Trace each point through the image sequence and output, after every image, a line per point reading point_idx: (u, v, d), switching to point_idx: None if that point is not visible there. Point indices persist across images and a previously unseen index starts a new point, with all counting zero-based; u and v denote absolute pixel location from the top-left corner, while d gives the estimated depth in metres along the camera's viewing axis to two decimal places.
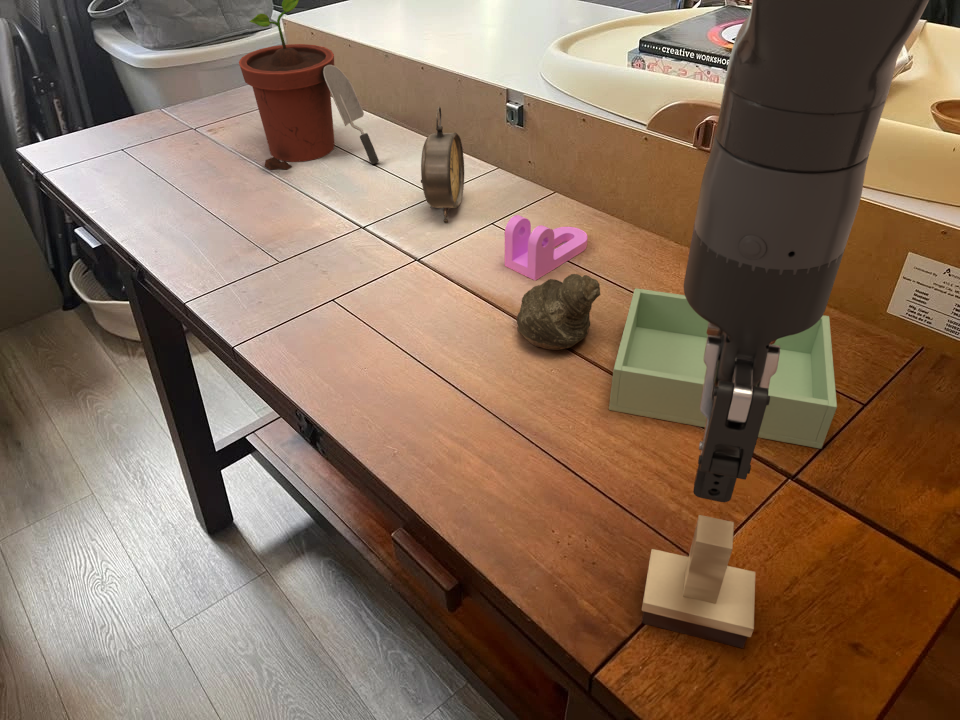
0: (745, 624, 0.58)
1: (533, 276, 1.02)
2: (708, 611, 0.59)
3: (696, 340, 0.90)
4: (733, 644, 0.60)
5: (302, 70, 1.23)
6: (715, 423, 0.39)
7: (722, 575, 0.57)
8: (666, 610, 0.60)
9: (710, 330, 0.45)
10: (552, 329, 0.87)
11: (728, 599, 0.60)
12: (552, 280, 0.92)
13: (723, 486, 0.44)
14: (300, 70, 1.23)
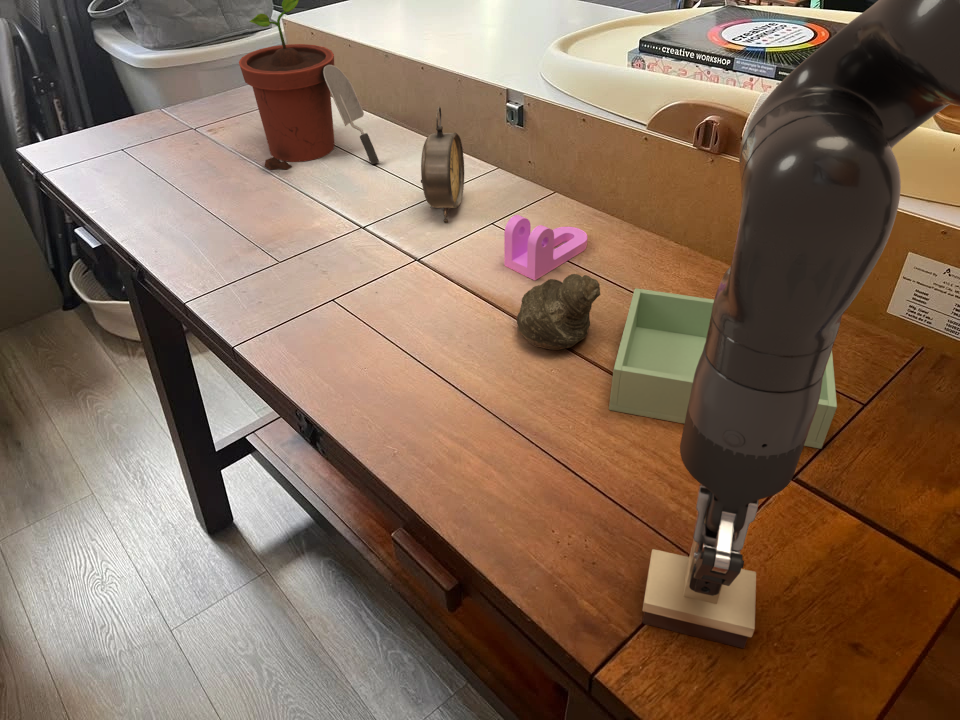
0: (746, 624, 0.58)
1: (533, 276, 1.02)
2: (708, 611, 0.59)
3: (696, 340, 0.90)
4: (734, 645, 0.60)
5: (302, 70, 1.23)
6: (702, 570, 0.51)
7: None
8: (667, 610, 0.60)
9: None
10: (552, 329, 0.87)
11: (729, 599, 0.60)
12: (552, 280, 0.92)
13: (712, 585, 0.56)
14: (300, 70, 1.23)
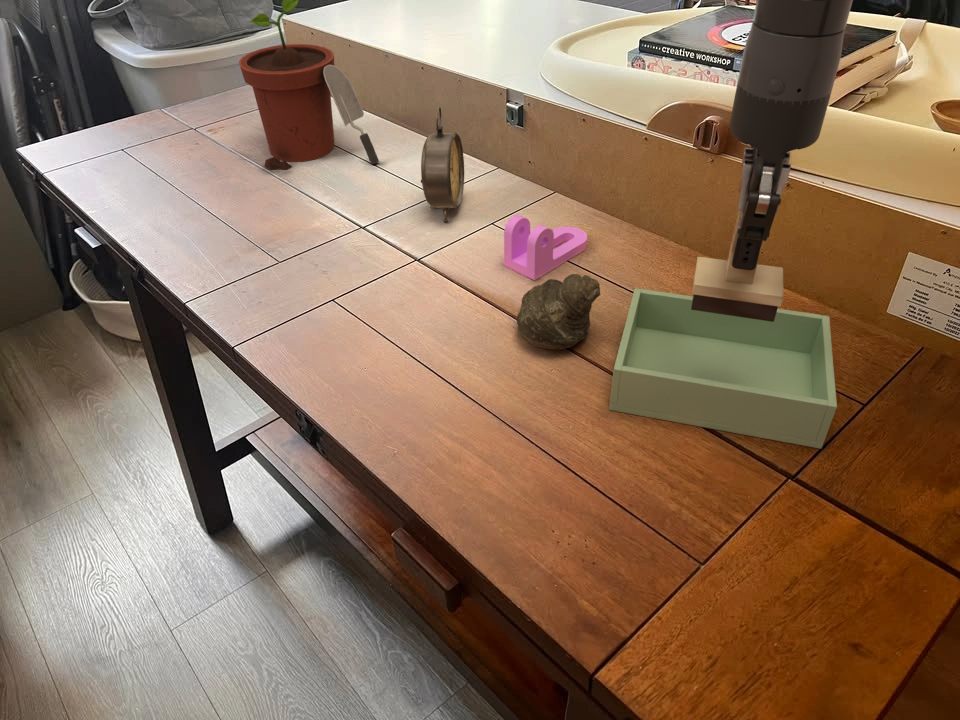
0: (776, 294, 0.73)
1: (533, 276, 1.02)
2: (746, 288, 0.74)
3: (696, 340, 0.90)
4: (765, 319, 0.75)
5: (302, 70, 1.23)
6: (747, 215, 0.66)
7: None
8: (712, 289, 0.74)
9: None
10: (552, 329, 0.87)
11: (762, 281, 0.75)
12: (552, 280, 0.92)
13: (751, 255, 0.71)
14: (300, 70, 1.23)
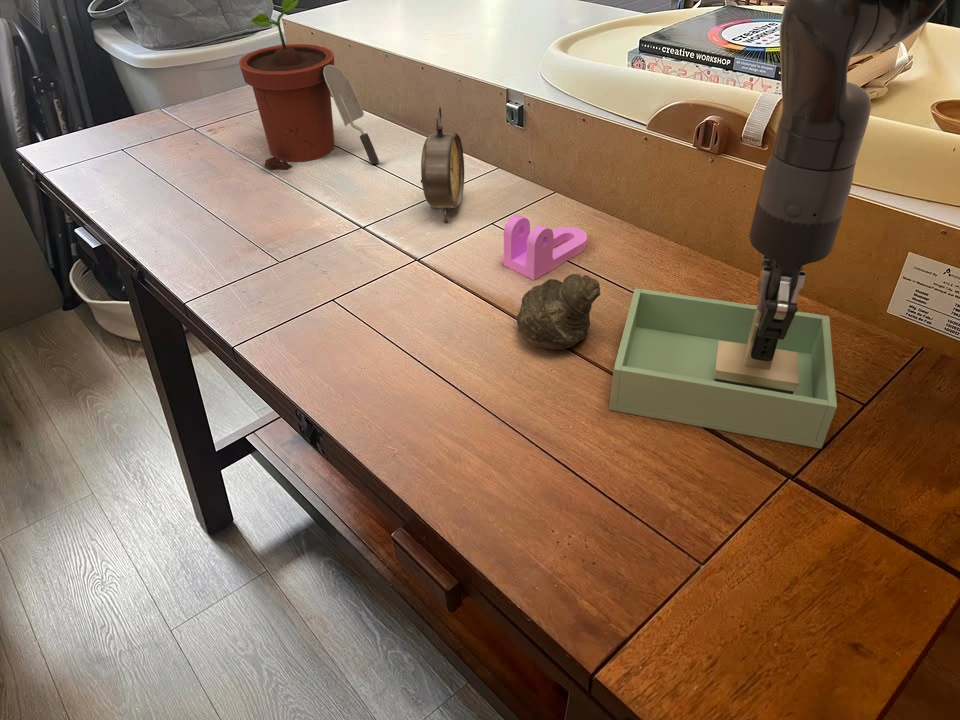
0: (792, 381, 0.79)
1: (532, 276, 1.02)
2: (764, 374, 0.80)
3: (696, 340, 0.90)
4: None
5: (302, 70, 1.23)
6: (766, 320, 0.72)
7: None
8: (733, 375, 0.80)
9: (763, 264, 0.75)
10: (552, 329, 0.87)
11: (778, 367, 0.81)
12: (552, 280, 0.92)
13: (769, 349, 0.77)
14: (300, 70, 1.23)
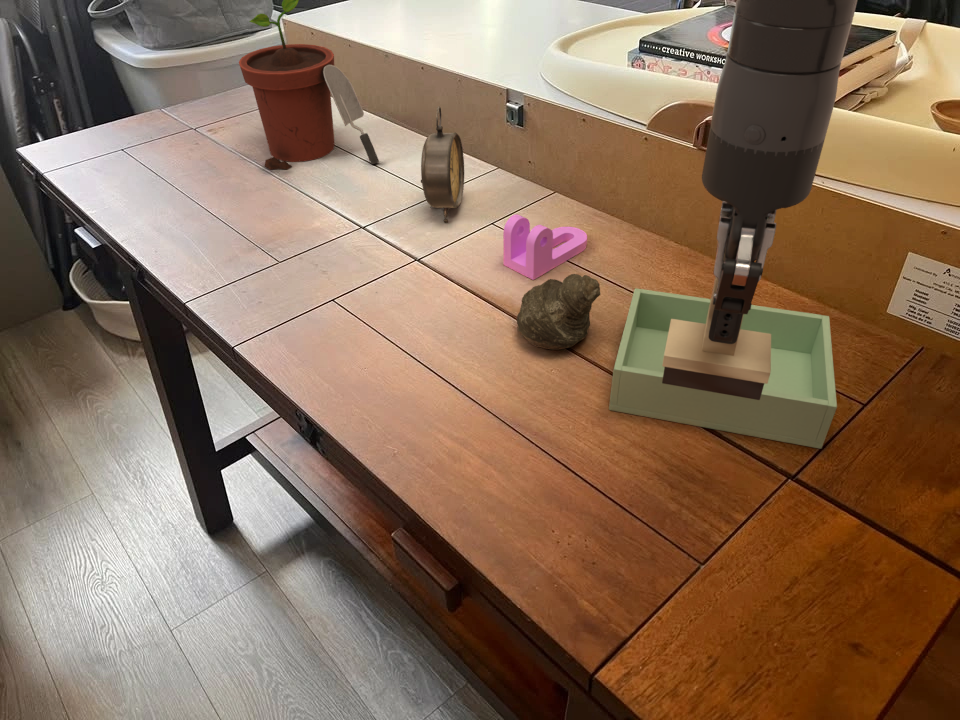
0: (762, 369, 0.61)
1: (532, 276, 1.02)
2: (726, 361, 0.62)
3: None
4: (750, 397, 0.63)
5: (302, 70, 1.23)
6: (723, 286, 0.54)
7: None
8: (686, 362, 0.62)
9: (722, 215, 0.57)
10: (552, 329, 0.87)
11: (745, 352, 0.63)
12: (552, 280, 0.92)
13: (731, 327, 0.59)
14: (300, 70, 1.23)
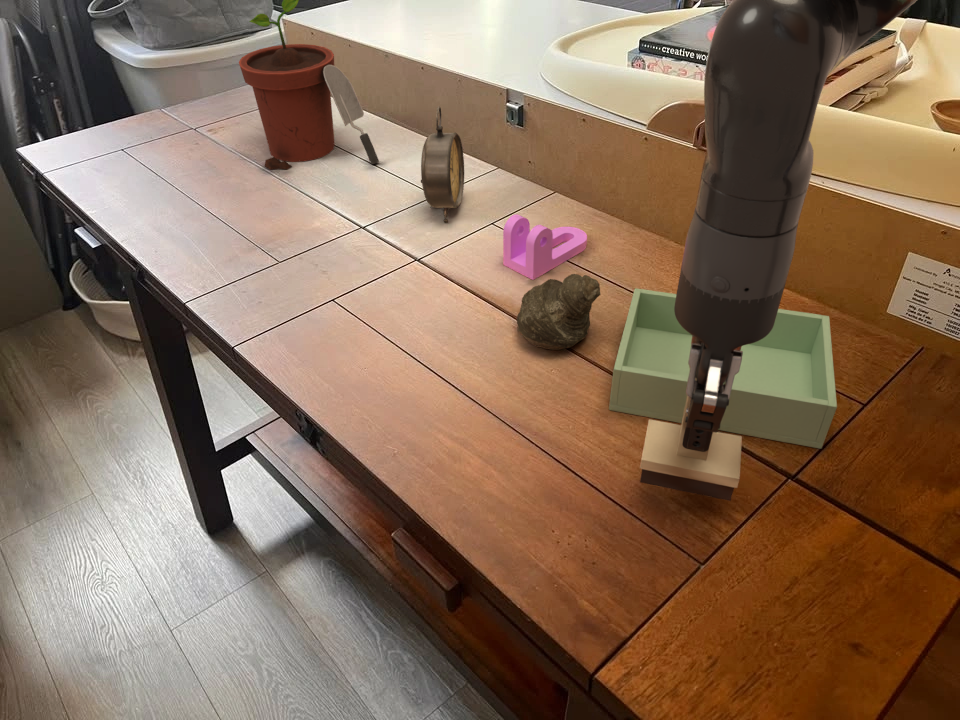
0: (732, 475, 0.65)
1: (531, 276, 1.02)
2: (699, 466, 0.66)
3: None
4: (721, 498, 0.67)
5: (302, 70, 1.23)
6: (693, 412, 0.58)
7: None
8: (662, 466, 0.67)
9: (694, 338, 0.62)
10: (553, 329, 0.87)
11: (717, 457, 0.67)
12: (552, 280, 0.92)
13: (702, 439, 0.64)
14: (300, 70, 1.23)
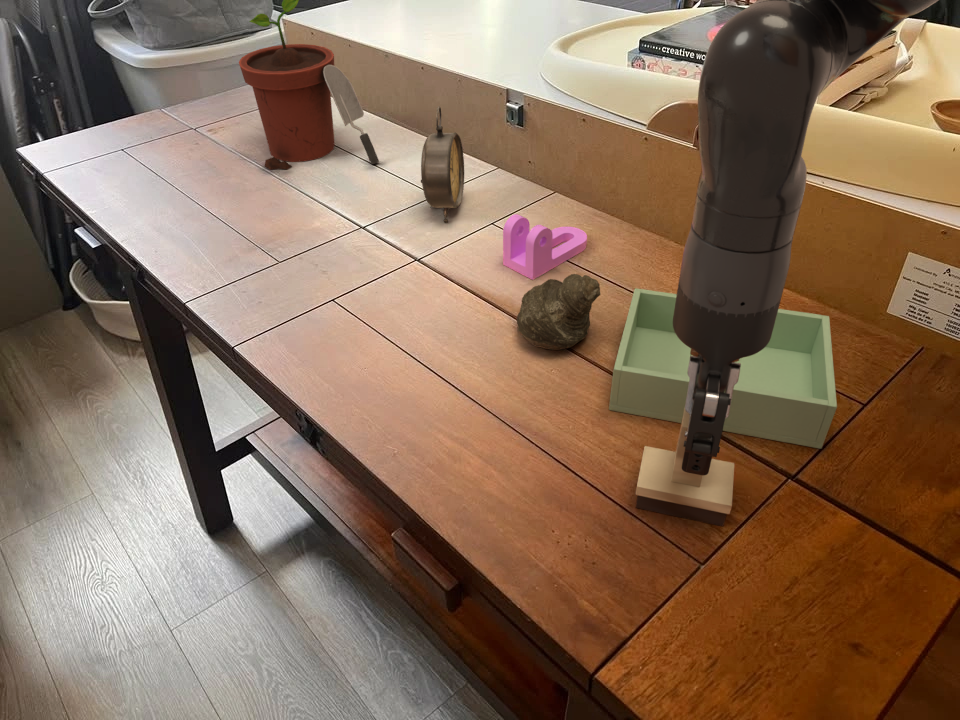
0: (724, 502, 0.68)
1: (531, 275, 1.02)
2: (692, 492, 0.69)
3: None
4: (714, 523, 0.70)
5: (302, 70, 1.23)
6: (694, 417, 0.57)
7: None
8: (656, 492, 0.69)
9: (692, 352, 0.63)
10: (552, 329, 0.87)
11: (710, 483, 0.69)
12: (552, 280, 0.92)
13: (702, 463, 0.62)
14: (300, 70, 1.23)
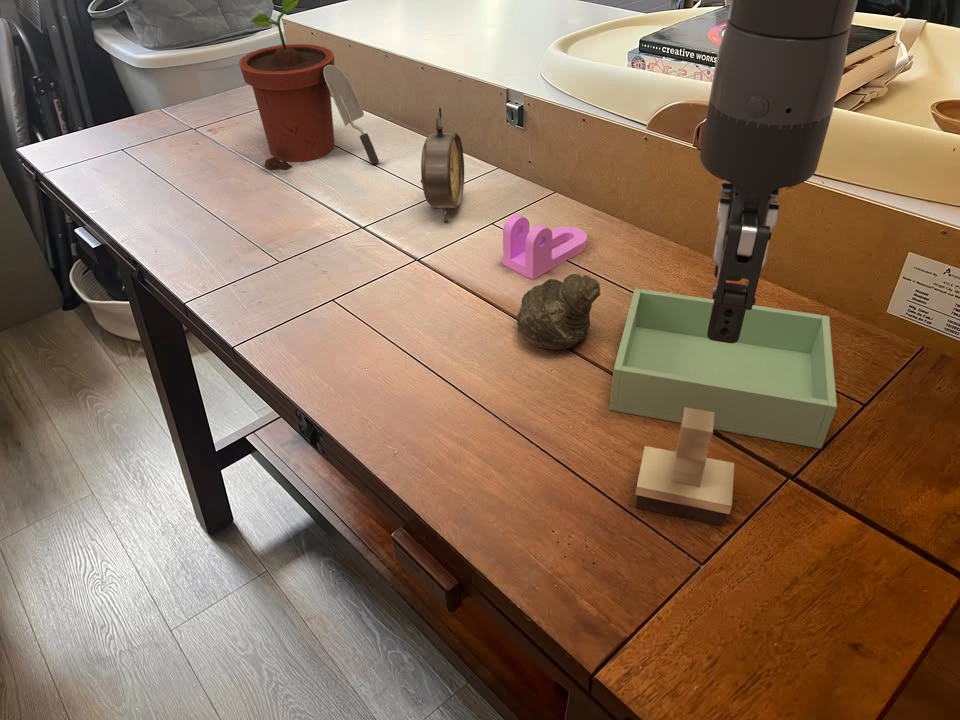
0: (724, 502, 0.68)
1: (531, 275, 1.02)
2: (692, 492, 0.69)
3: (696, 340, 0.90)
4: (714, 523, 0.70)
5: (302, 70, 1.23)
6: (727, 258, 0.48)
7: (704, 458, 0.67)
8: (656, 492, 0.69)
9: None
10: (552, 329, 0.87)
11: (710, 483, 0.69)
12: (552, 280, 0.92)
13: (732, 325, 0.53)
14: (300, 70, 1.23)
